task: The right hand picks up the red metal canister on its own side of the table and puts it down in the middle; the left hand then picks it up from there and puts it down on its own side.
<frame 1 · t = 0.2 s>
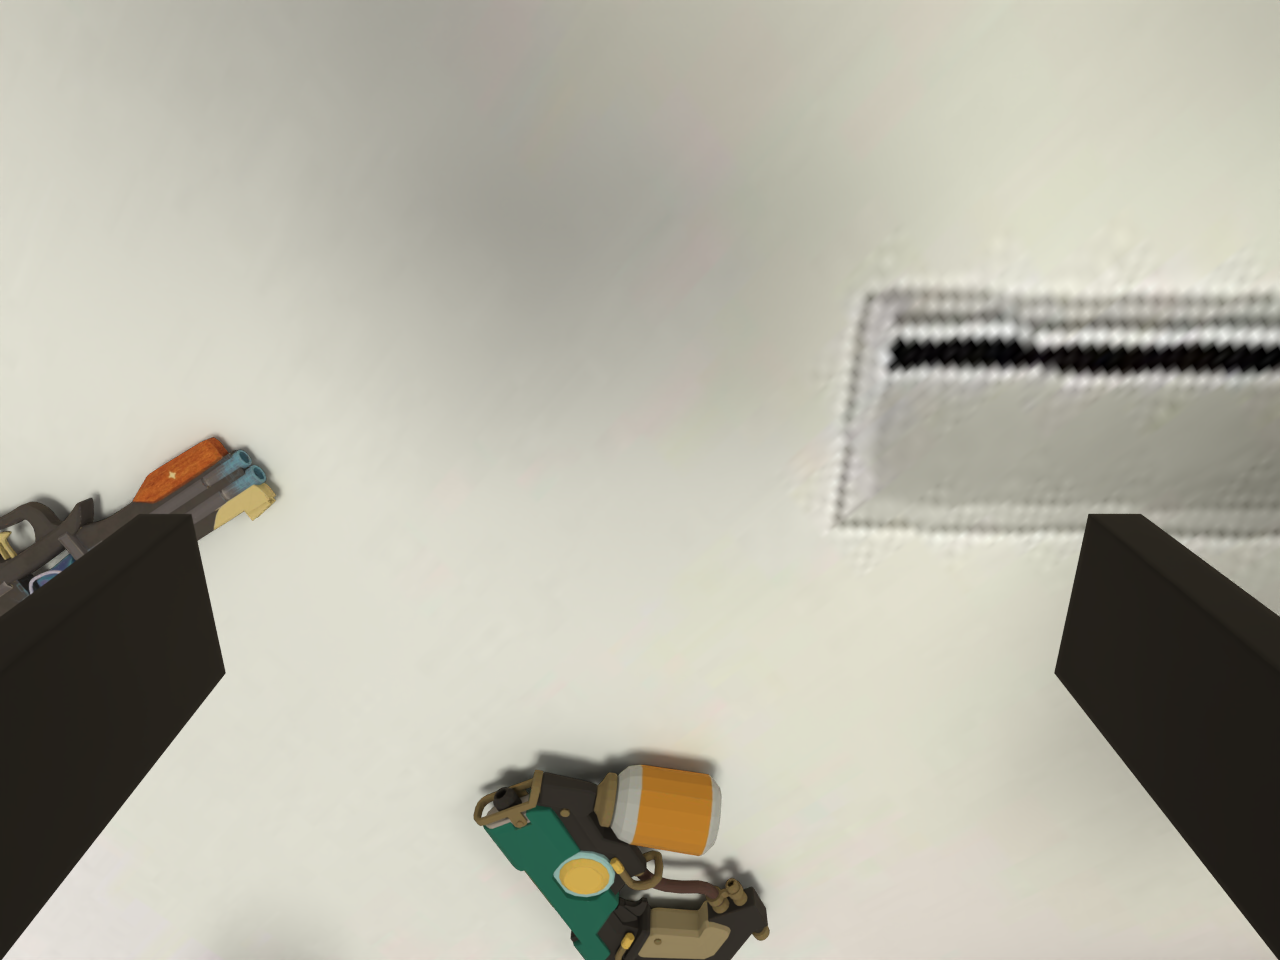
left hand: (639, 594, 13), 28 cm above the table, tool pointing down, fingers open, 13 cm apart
toy gun: (80, 508, 43), on the table
spray gun: (628, 850, 51), on the table
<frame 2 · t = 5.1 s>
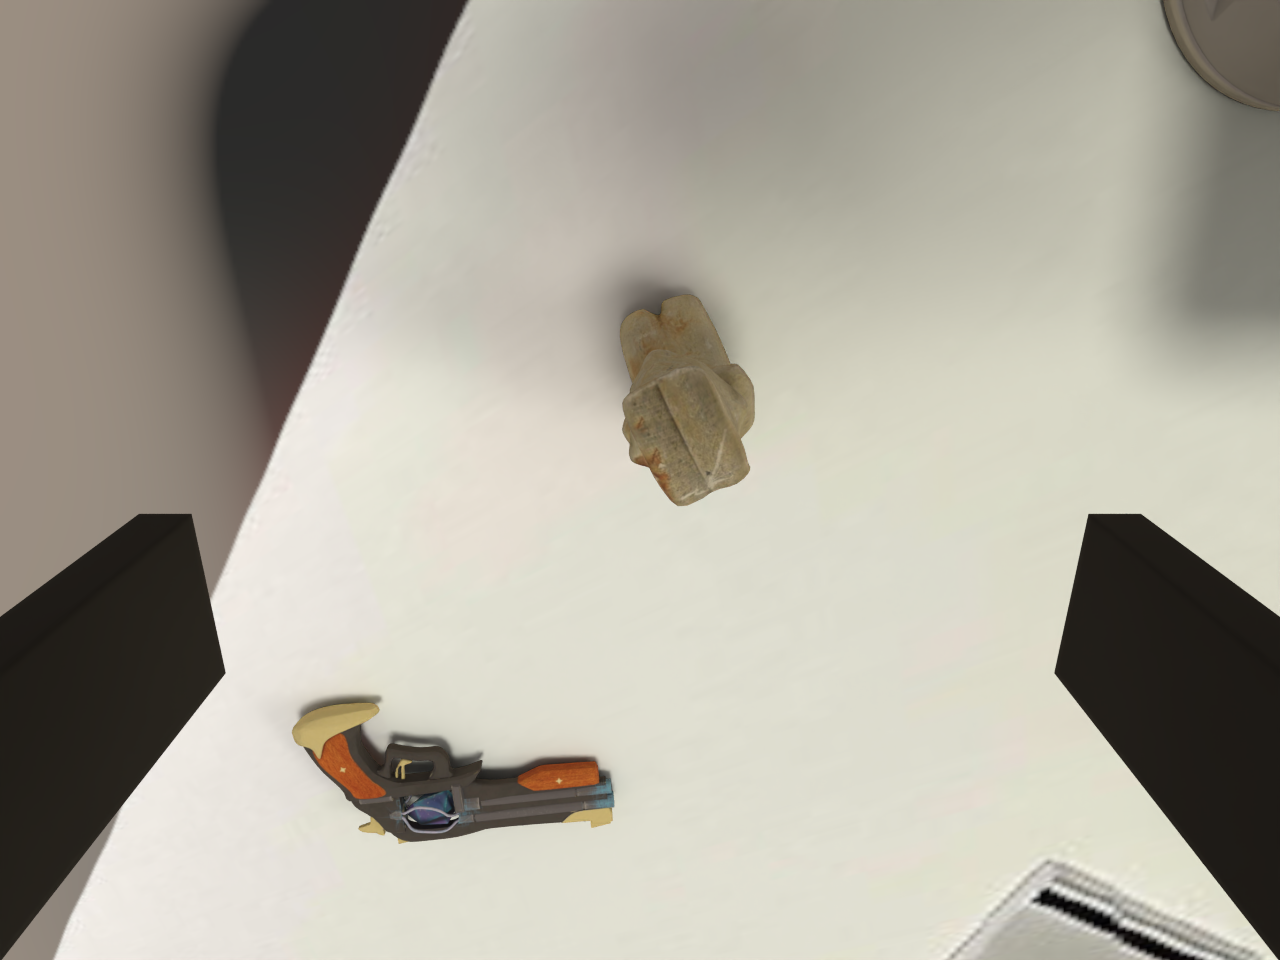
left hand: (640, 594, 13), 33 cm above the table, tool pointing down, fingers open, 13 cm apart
sculpture: (679, 361, 45), on the table
toy gun: (462, 756, 54), on the table
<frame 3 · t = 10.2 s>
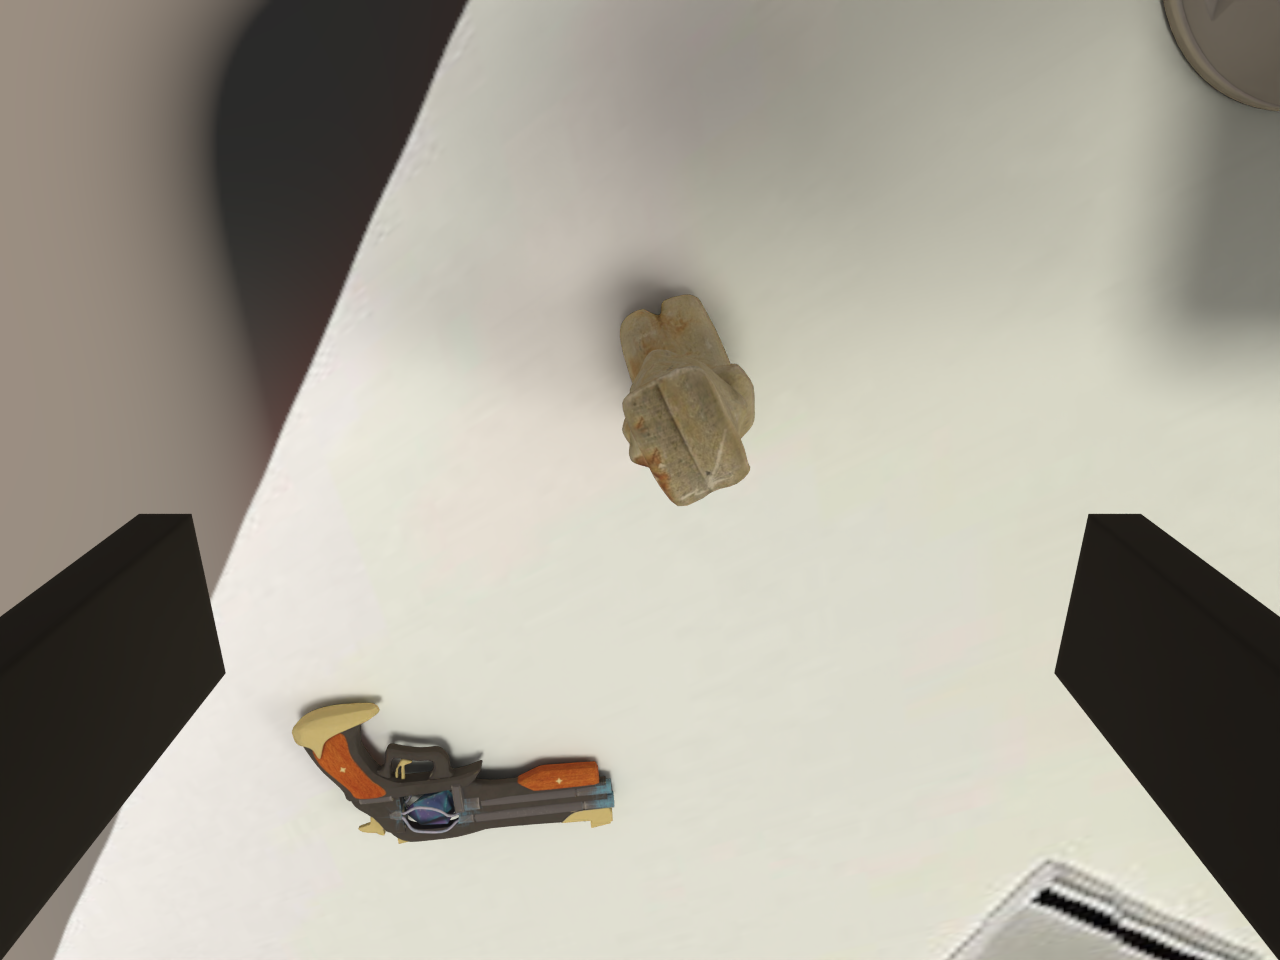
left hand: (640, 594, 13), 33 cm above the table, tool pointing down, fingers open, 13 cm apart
sculpture: (679, 361, 45), on the table
toy gun: (462, 756, 54), on the table
when the right hand's fingers open (5 cm above the table, at t = 15.1 s): canister stays where it is, on the table.
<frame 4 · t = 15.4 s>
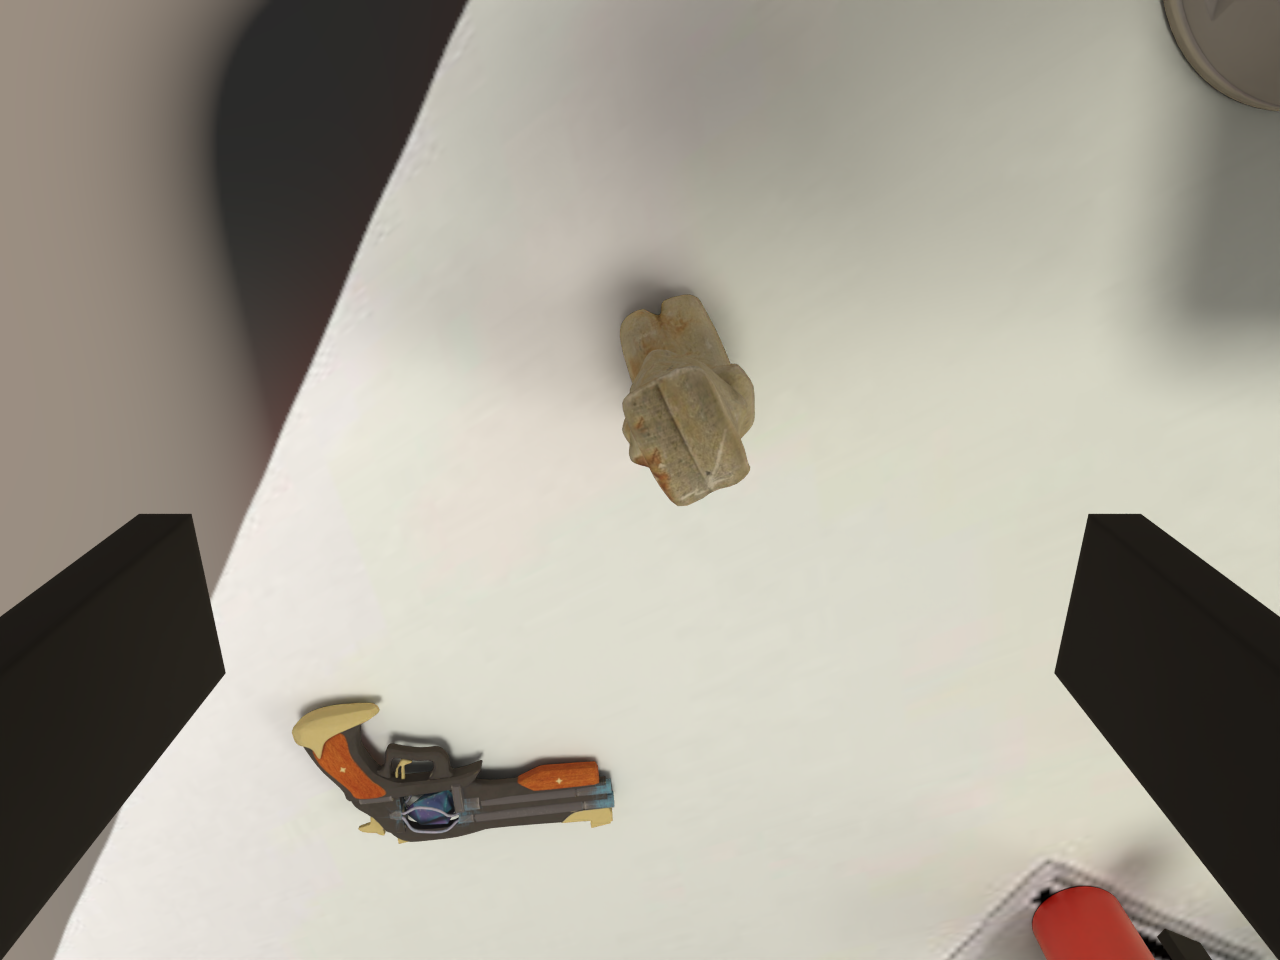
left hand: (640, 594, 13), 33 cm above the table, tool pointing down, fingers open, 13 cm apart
sculpture: (679, 361, 45), on the table
toy gun: (462, 756, 54), on the table
canister: (1076, 918, 59), on the table
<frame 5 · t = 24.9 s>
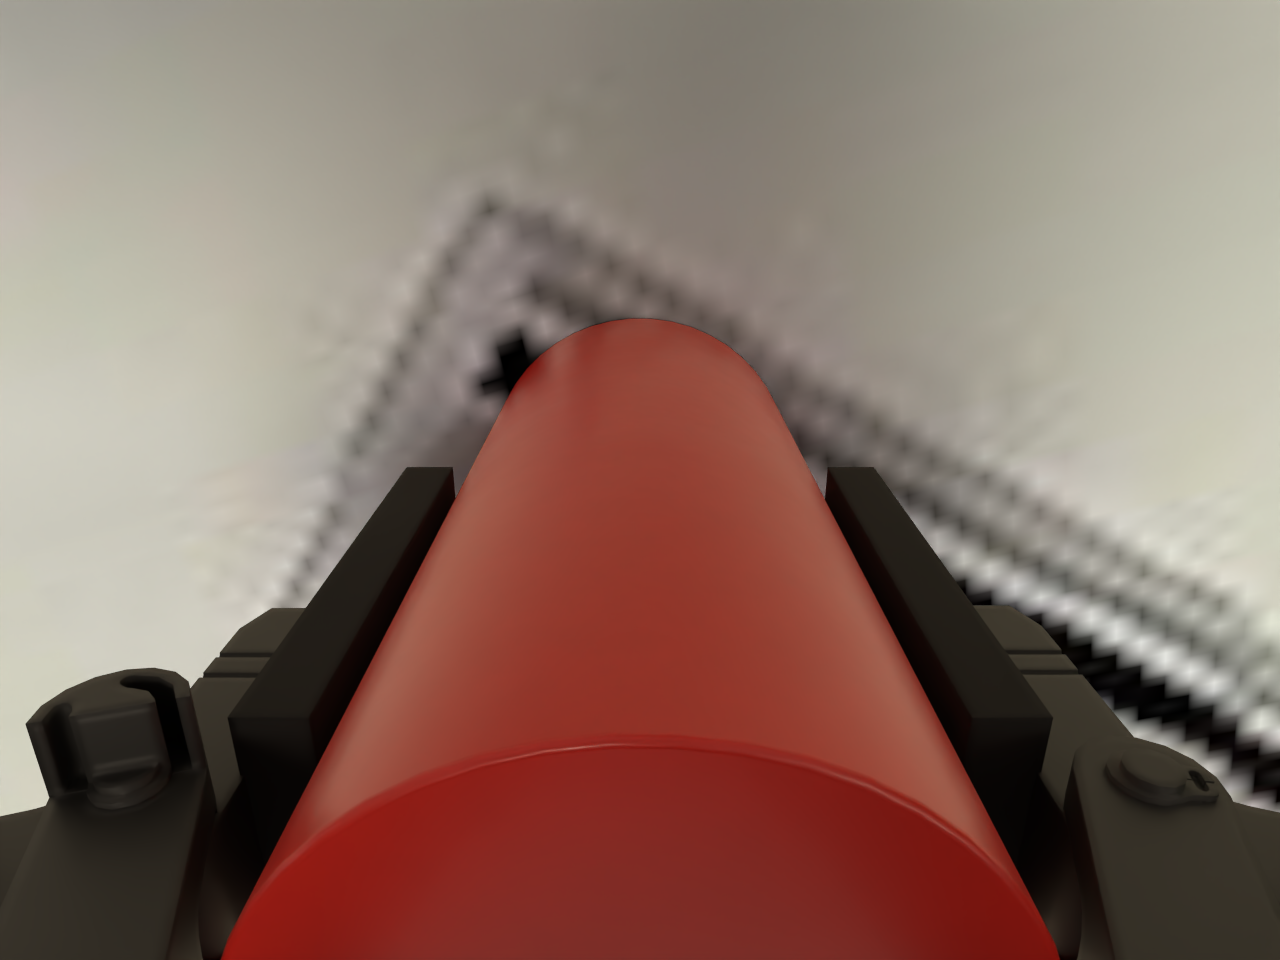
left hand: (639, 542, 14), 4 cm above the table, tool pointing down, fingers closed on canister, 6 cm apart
canister: (639, 462, 18), on the table, touching left hand
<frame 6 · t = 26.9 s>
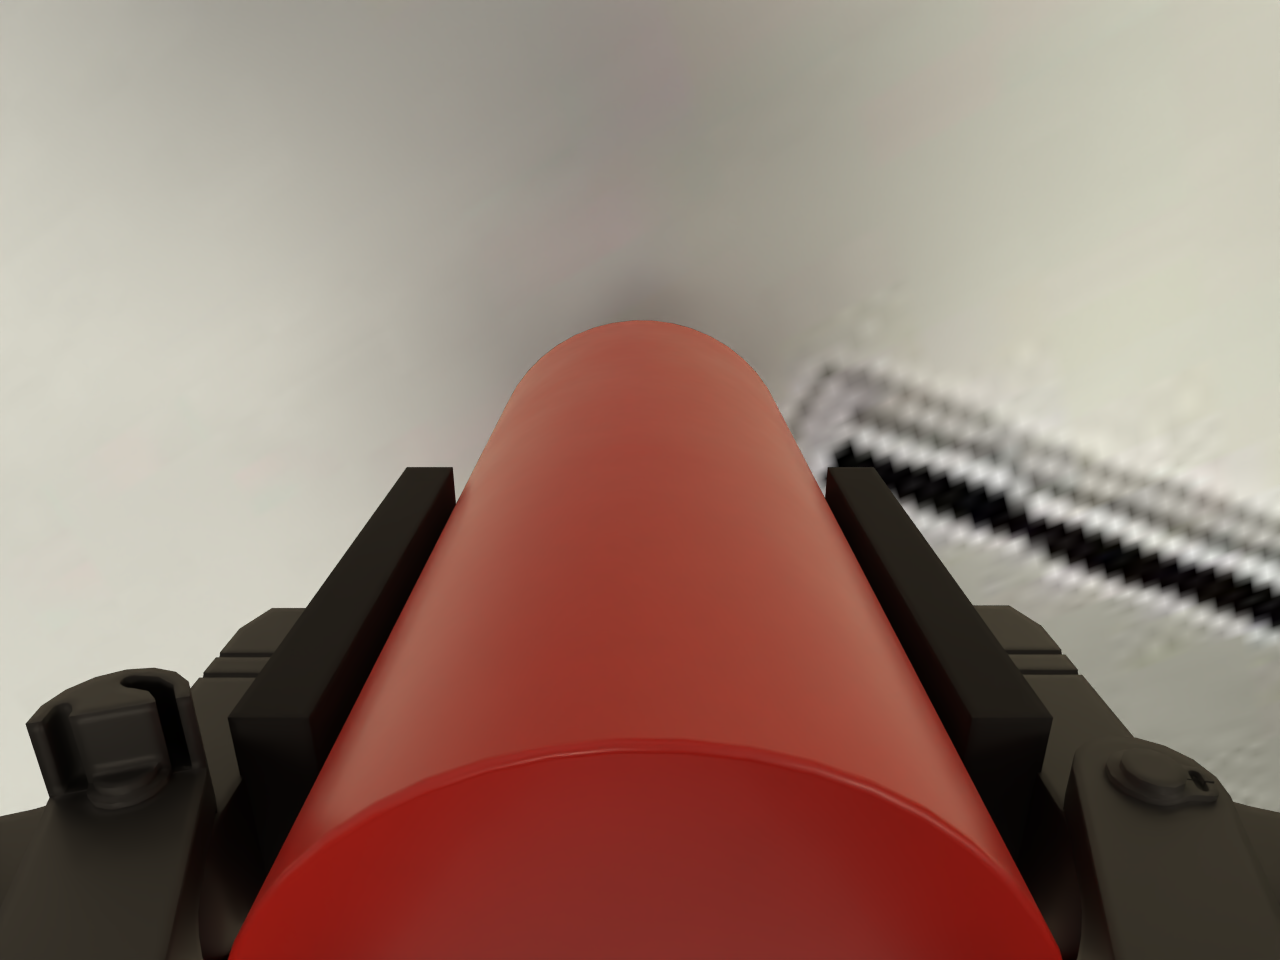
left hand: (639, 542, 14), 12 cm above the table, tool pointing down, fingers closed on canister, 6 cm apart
canister: (641, 464, 18), point 8 cm above the table, touching left hand
when the left hand's fingers open (5 cm above the table, at t = 29.0 s): canister stays where it is, on the table.
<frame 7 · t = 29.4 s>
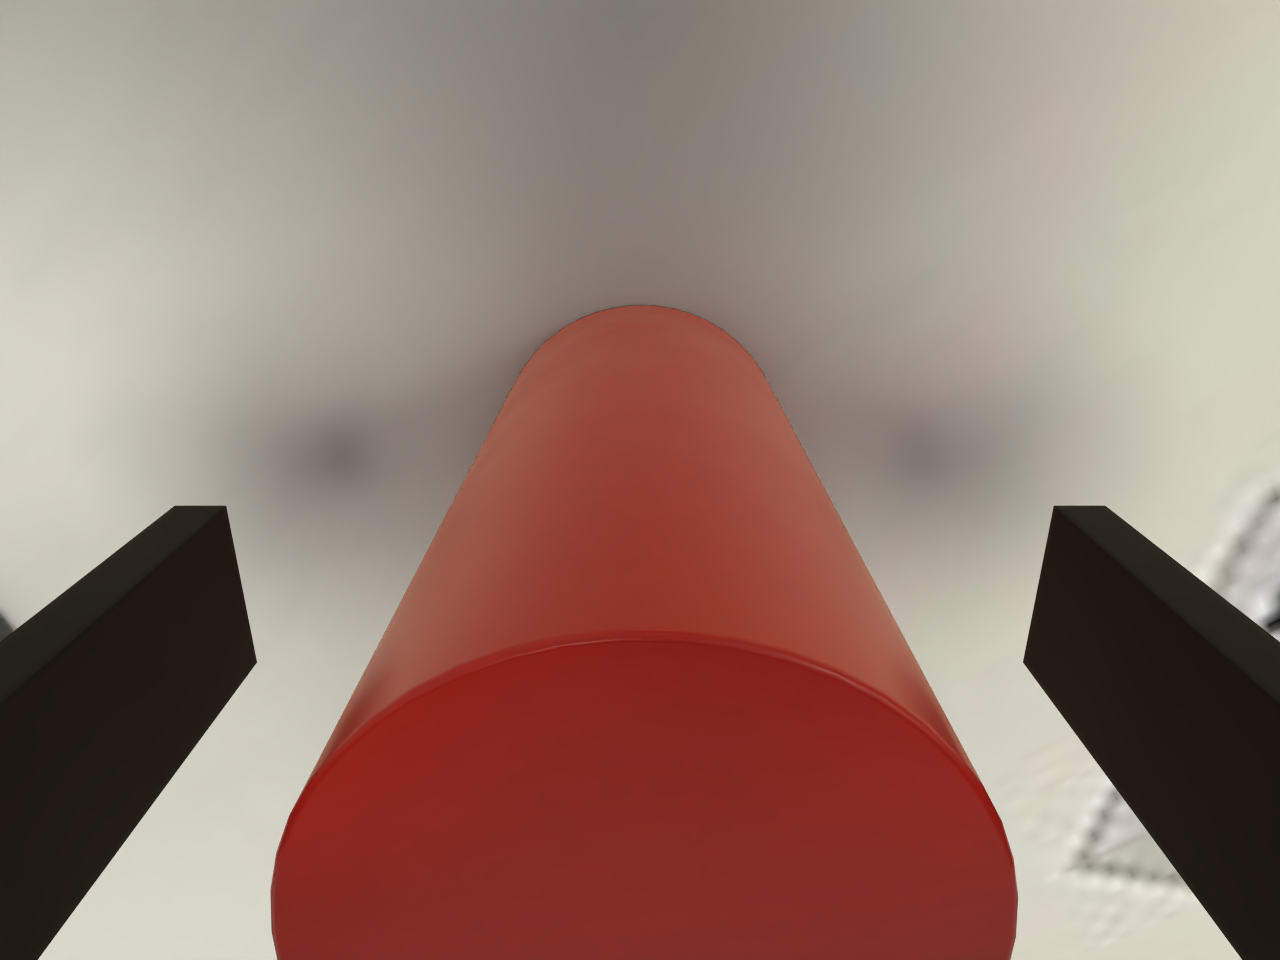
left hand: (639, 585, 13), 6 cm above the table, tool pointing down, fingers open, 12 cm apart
canister: (641, 443, 19), on the table
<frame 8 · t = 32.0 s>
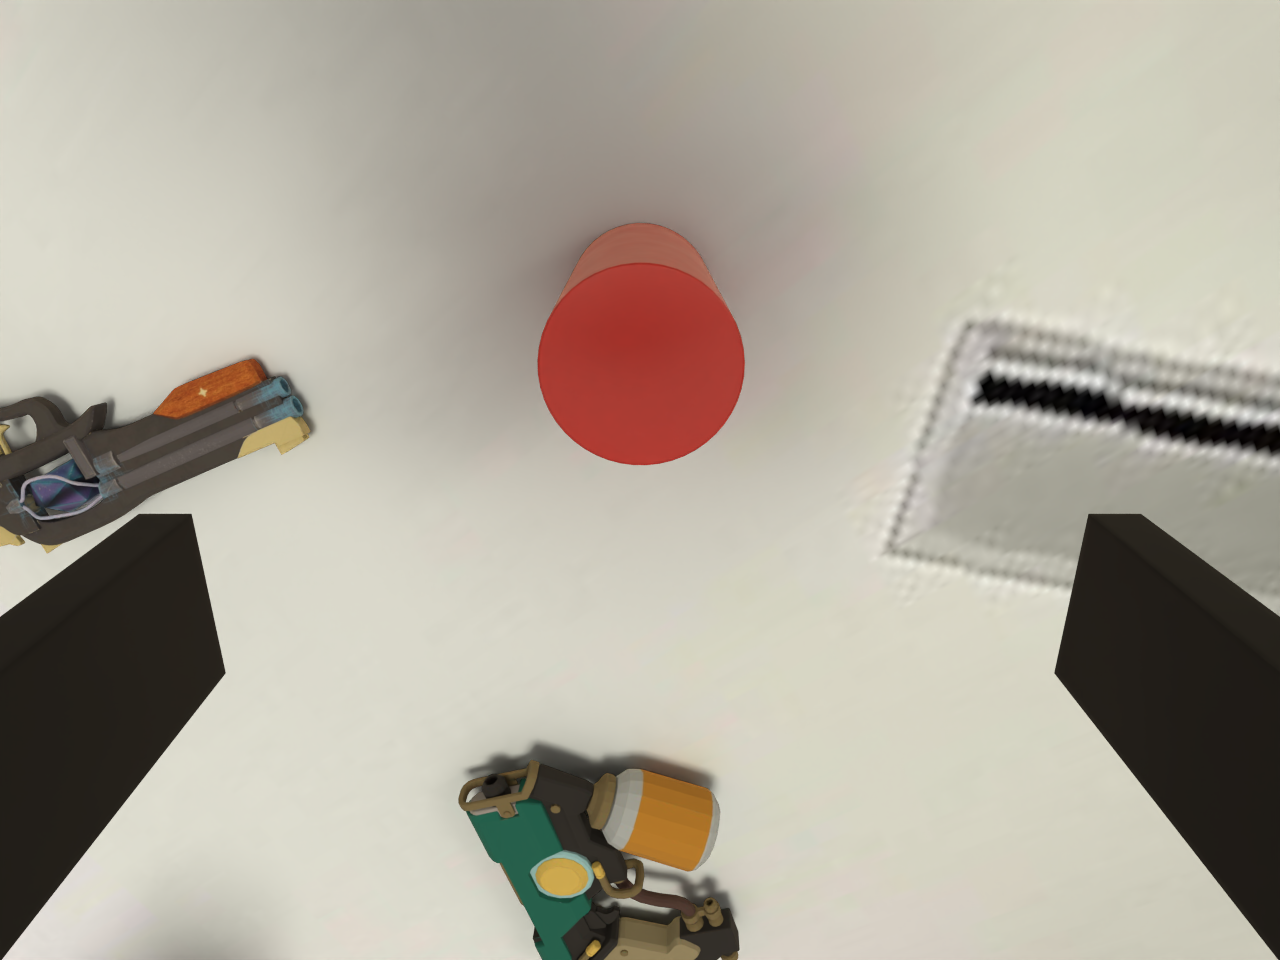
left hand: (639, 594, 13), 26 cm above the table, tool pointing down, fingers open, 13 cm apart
toy gun: (90, 412, 39), on the table
canister: (640, 296, 37), on the table
spray gun: (607, 855, 49), on the table
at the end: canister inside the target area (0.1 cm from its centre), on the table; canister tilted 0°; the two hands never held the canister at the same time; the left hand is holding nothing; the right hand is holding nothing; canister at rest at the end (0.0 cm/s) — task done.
